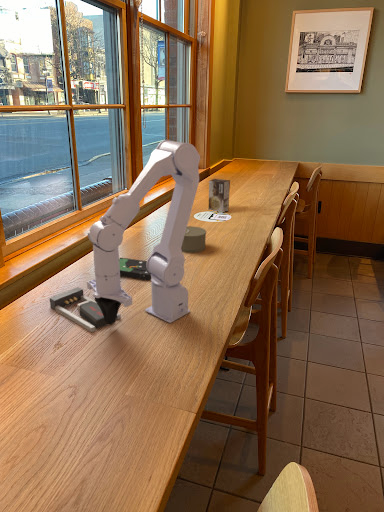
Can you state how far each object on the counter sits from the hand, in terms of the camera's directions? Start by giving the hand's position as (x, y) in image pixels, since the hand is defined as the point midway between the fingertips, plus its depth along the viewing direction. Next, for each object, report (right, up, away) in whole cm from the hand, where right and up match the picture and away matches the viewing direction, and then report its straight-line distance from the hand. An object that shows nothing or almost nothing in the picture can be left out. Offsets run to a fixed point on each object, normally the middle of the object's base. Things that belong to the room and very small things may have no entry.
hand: (110, 322), depth 96 cm
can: (+19, +19, +55) cm, 61 cm away
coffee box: (+34, +40, +107) cm, 119 cm away
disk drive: (+1, +11, +33) cm, 35 cm away
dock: (-9, +2, +8) cm, 12 cm away
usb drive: (-6, 0, +6) cm, 8 cm away
